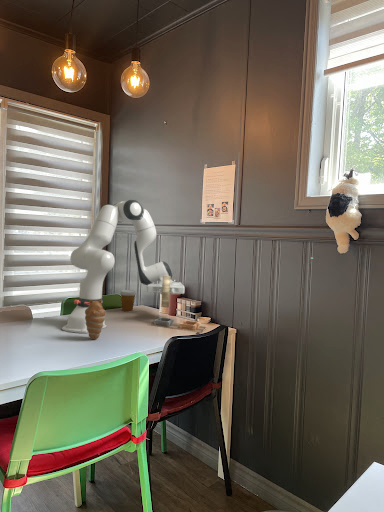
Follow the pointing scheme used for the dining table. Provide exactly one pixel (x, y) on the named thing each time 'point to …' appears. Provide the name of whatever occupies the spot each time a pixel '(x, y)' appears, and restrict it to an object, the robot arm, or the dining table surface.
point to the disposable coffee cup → (127, 300)
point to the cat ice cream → (94, 318)
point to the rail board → (178, 325)
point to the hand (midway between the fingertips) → (166, 291)
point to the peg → (165, 291)
